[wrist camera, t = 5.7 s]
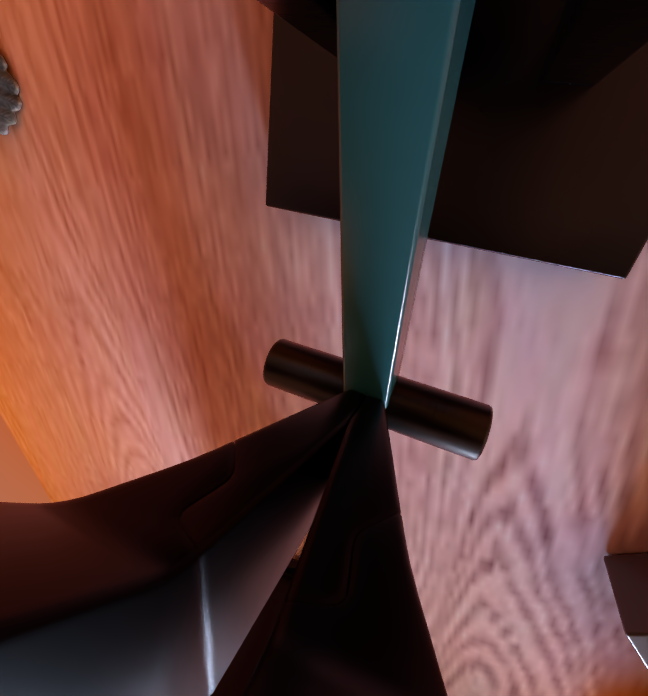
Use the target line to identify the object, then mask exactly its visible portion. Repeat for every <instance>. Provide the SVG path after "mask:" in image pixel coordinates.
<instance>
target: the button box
mask: <svg viewBox="0 0 648 696" xmlns="http://www.w3.org/2000/svg"><path fill="white" fill-rule="evenodd" d="M604 561H605V565H606V568H607V572H608V575H609V579H610V582H611V586H612V589H613V593H614V596H615V600H616V603H617V607H618V610H619V614H620V617H621V621H622V624H623V628H624V631H625V634H626V636H627V637H628V639H629V641H630V642H631V644H632V645H633V647H634V649H635V650H636V652H637V653H638V655H639V657H640V658H641V660H642V661H643V663H644V665H645V666H646V668H647V669H648V553H638V554H625V555H612V556H604Z"/></svg>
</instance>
